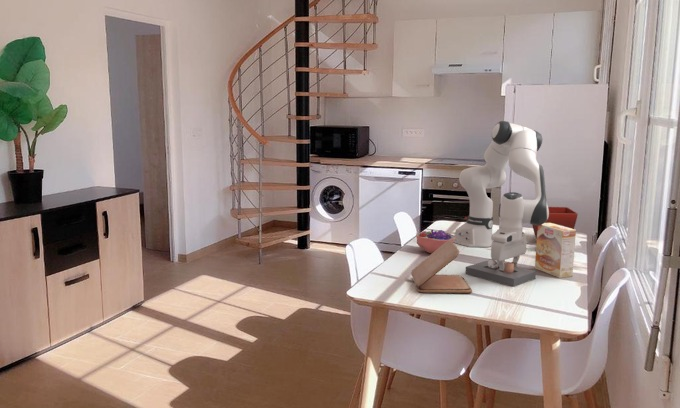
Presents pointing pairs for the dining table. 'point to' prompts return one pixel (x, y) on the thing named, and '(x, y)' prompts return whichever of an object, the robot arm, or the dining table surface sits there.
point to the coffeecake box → (555, 249)
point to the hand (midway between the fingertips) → (508, 268)
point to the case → (432, 265)
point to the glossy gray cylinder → (492, 264)
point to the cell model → (433, 240)
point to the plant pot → (560, 217)
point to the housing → (501, 274)
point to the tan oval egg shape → (509, 267)
